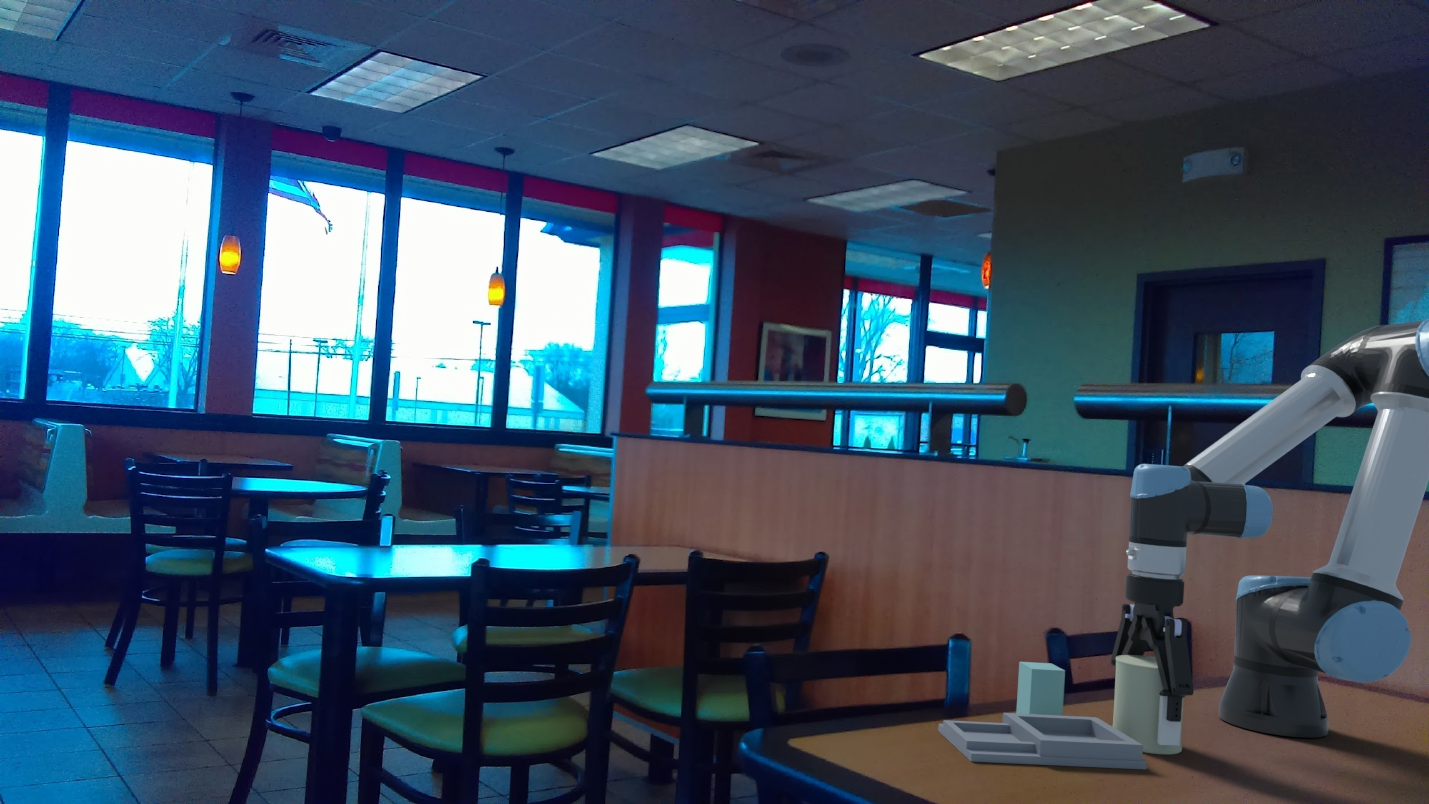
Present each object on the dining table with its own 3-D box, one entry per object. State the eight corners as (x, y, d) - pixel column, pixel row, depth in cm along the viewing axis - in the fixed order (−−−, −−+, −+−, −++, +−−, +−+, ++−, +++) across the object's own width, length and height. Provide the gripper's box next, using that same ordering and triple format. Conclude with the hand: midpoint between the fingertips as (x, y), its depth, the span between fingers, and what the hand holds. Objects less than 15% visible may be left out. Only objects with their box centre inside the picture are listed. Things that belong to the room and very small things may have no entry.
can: (1188, 758, 145) (1193, 668, 145) (1116, 749, 147) (1121, 660, 147) (1173, 740, 154) (1178, 655, 154) (1105, 732, 156) (1110, 648, 156)
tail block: (1048, 716, 163) (1051, 663, 163) (1061, 725, 158) (1065, 670, 158) (1016, 715, 163) (1019, 661, 163) (1028, 724, 158) (1032, 668, 158)
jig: (1097, 738, 152) (1099, 717, 152) (1146, 769, 138) (1147, 745, 138) (938, 730, 150) (939, 709, 150) (970, 761, 136) (972, 737, 136)
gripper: (1092, 563, 163) (1083, 708, 162) (1173, 585, 139) (1163, 756, 138) (1140, 566, 163) (1131, 711, 163) (1228, 588, 140) (1219, 758, 139)
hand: (1146, 732), depth 150 cm, fingers open, 11 cm apart
